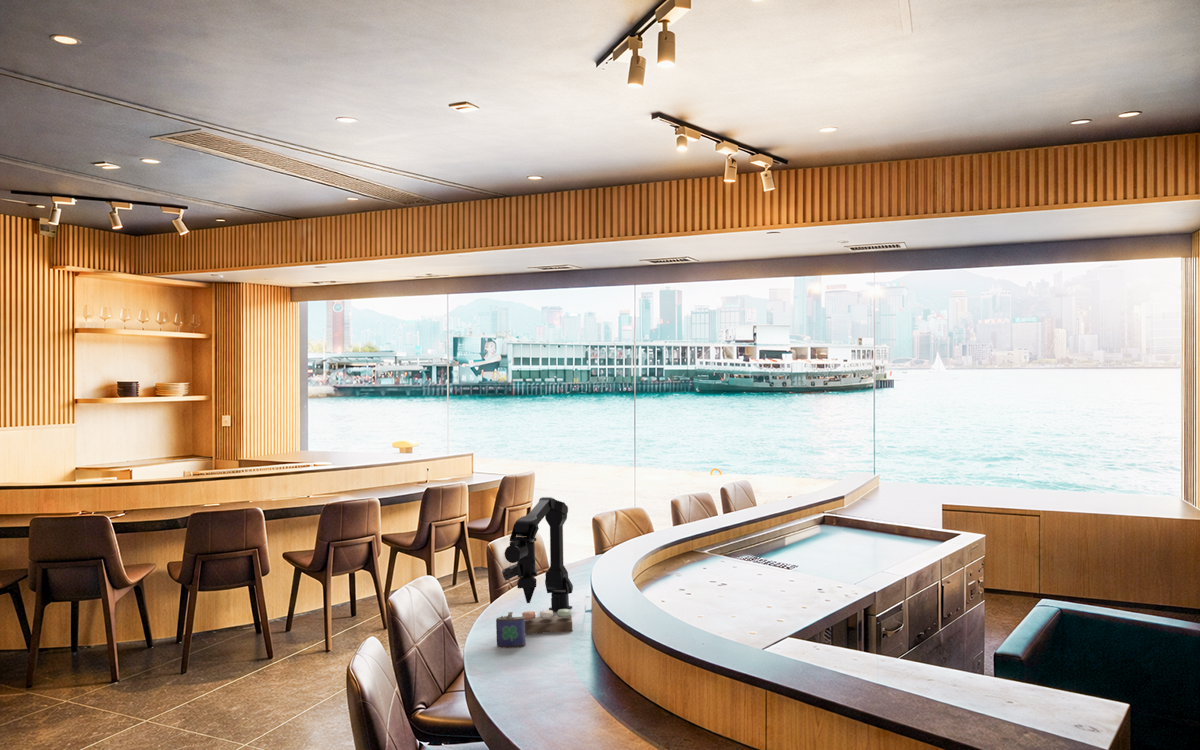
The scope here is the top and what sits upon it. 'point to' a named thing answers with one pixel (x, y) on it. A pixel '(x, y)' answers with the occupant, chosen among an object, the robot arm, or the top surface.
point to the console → (548, 624)
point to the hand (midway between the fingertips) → (528, 602)
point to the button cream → (546, 614)
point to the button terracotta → (528, 615)
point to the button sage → (564, 613)
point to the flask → (510, 631)
